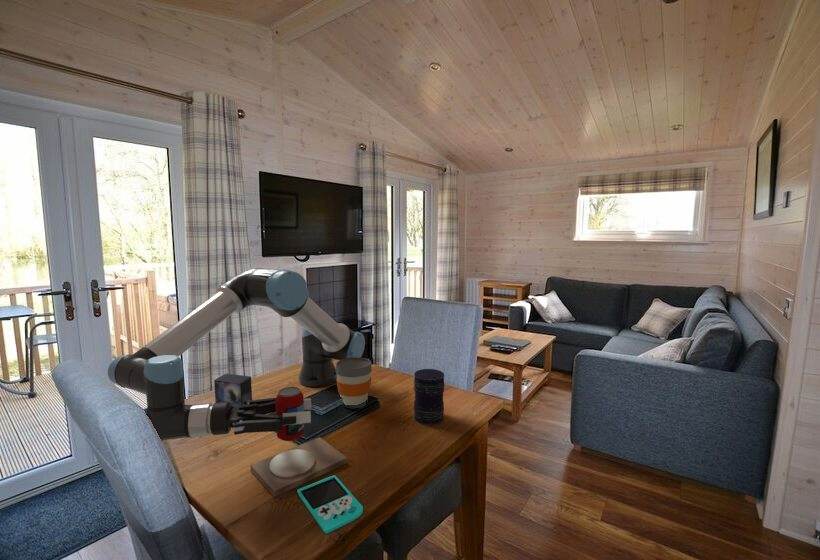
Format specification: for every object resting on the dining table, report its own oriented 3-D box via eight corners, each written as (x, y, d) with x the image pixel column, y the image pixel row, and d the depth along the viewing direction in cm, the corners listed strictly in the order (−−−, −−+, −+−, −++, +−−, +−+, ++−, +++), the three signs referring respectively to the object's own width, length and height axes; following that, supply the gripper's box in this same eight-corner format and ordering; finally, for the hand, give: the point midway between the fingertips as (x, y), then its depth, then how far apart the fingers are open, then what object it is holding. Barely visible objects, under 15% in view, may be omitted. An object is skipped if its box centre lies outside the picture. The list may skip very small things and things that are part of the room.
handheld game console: (324, 537, 81) (324, 530, 80) (295, 494, 93) (295, 489, 93) (367, 515, 86) (367, 510, 86) (334, 478, 99) (334, 473, 99)
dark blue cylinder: (408, 414, 132) (408, 371, 130) (433, 408, 137) (434, 367, 135) (423, 428, 124) (423, 382, 122) (449, 421, 128) (450, 376, 126)
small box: (214, 409, 135) (212, 379, 134) (227, 401, 142) (225, 372, 140) (241, 412, 133) (239, 382, 131) (253, 404, 139) (252, 375, 138)
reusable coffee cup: (338, 396, 146) (338, 357, 144) (372, 396, 147) (372, 356, 145) (333, 412, 134) (332, 369, 132) (371, 411, 134) (370, 369, 132)
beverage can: (296, 444, 97) (295, 397, 95) (271, 441, 98) (269, 395, 96) (309, 431, 103) (308, 386, 102) (285, 428, 104) (283, 384, 103)
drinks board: (319, 441, 115) (319, 434, 115) (347, 462, 105) (347, 454, 105) (250, 470, 101) (250, 461, 101) (274, 497, 91) (274, 488, 91)
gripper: (222, 415, 106) (311, 407, 111) (202, 456, 87) (310, 444, 92) (221, 388, 105) (311, 381, 110) (200, 423, 86) (309, 413, 91)
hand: (310, 410), depth 101 cm, fingers closed on beverage can, 7 cm apart
